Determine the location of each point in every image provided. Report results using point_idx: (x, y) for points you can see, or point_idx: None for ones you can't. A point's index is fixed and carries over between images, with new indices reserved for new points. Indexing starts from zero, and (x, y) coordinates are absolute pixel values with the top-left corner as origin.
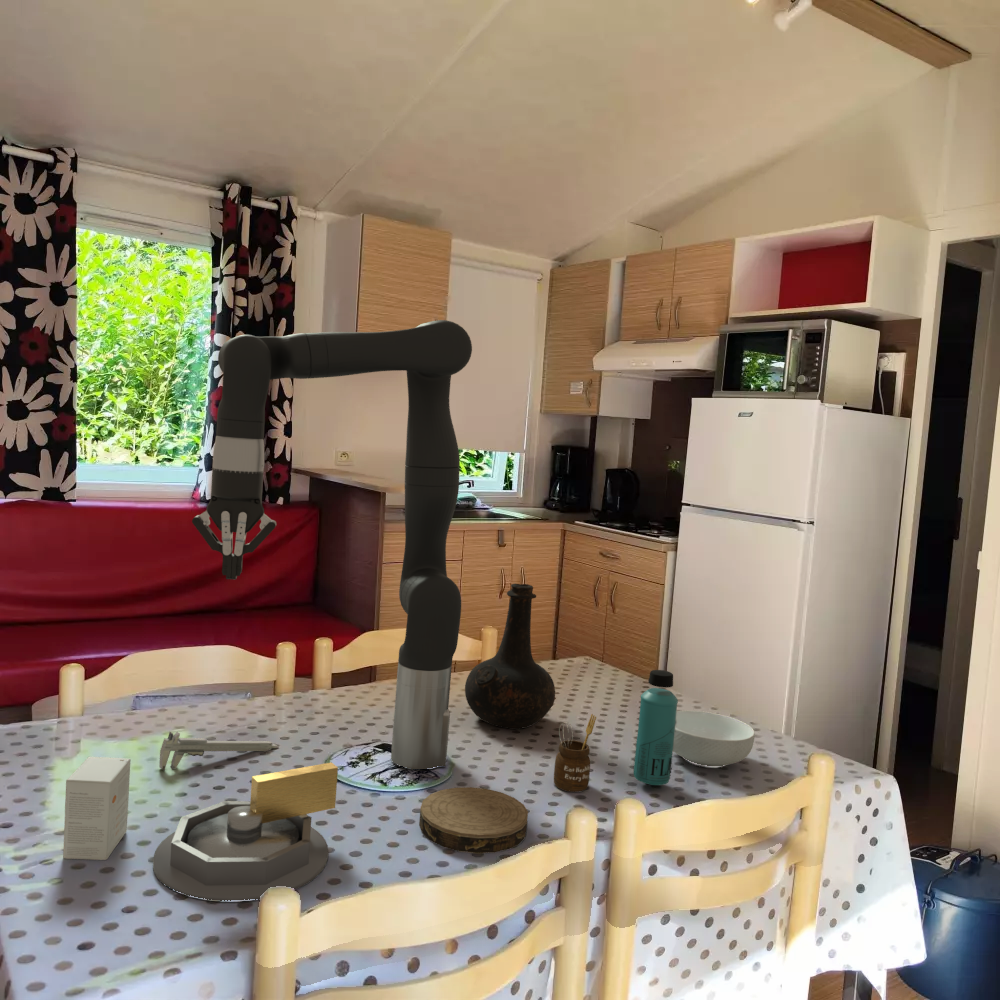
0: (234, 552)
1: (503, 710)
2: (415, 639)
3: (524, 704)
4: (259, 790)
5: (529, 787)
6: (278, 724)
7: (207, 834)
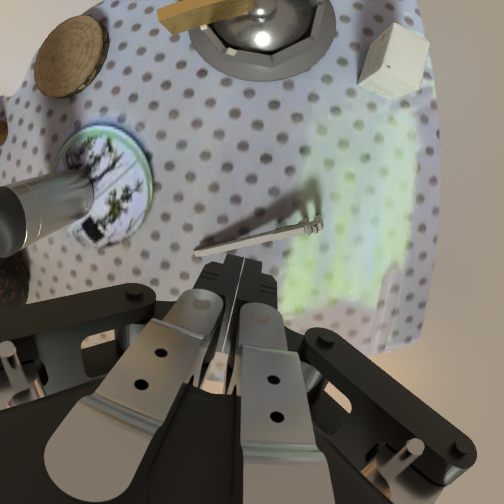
0: (221, 303)
1: None
2: None
3: None
4: None
5: (19, 130)
6: None
7: (293, 17)
